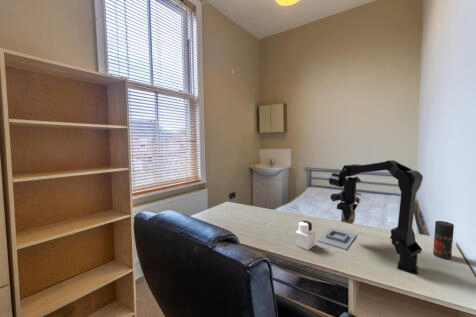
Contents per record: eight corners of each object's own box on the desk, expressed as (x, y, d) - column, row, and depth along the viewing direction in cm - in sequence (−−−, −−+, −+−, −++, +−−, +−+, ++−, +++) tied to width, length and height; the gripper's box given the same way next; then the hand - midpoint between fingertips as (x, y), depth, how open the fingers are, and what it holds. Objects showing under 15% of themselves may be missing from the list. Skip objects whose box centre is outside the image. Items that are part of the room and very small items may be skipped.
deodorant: (432, 251, 102) (435, 219, 100) (450, 255, 98) (453, 222, 97) (433, 256, 97) (435, 223, 96) (452, 261, 93) (454, 227, 92)
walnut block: (351, 224, 108) (352, 214, 107) (341, 221, 111) (341, 212, 111) (354, 221, 112) (355, 211, 111) (344, 218, 115) (344, 209, 114)
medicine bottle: (302, 240, 114) (302, 218, 113) (315, 245, 109) (315, 221, 108) (294, 245, 109) (295, 222, 108) (308, 250, 104) (308, 226, 103)
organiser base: (346, 249, 104) (346, 245, 104) (317, 241, 113) (317, 237, 113) (356, 235, 119) (356, 231, 119) (330, 228, 128) (330, 225, 128)
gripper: (338, 183, 122) (337, 210, 124) (326, 190, 108) (325, 220, 110) (360, 186, 115) (359, 215, 116) (351, 194, 101) (349, 227, 102)
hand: (347, 219), depth 111 cm, fingers closed on walnut block, 5 cm apart
